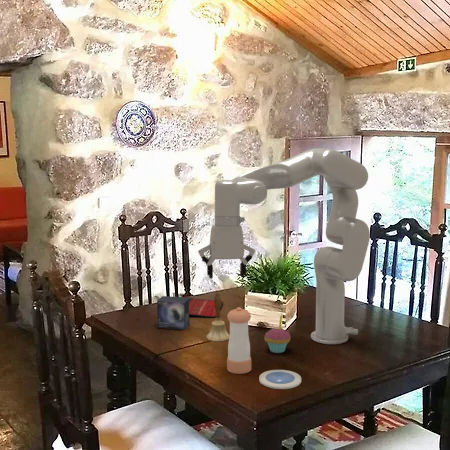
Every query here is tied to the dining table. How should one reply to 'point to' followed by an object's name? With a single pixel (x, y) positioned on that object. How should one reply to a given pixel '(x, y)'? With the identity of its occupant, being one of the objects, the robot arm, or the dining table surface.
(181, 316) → the small box
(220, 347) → the dining table surface
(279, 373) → the coaster
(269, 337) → the cupcake
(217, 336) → the hand bell
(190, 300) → the binder
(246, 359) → the pepper shaker
